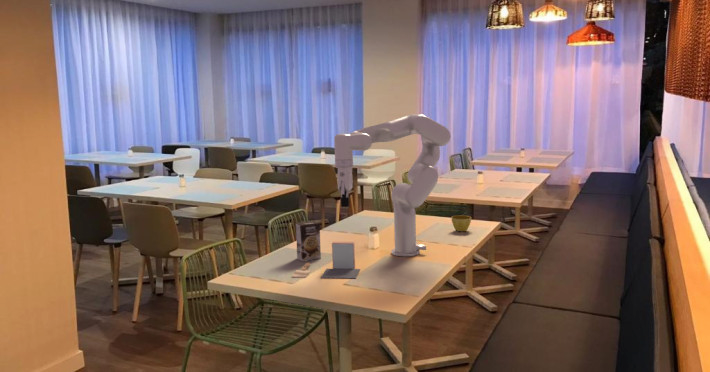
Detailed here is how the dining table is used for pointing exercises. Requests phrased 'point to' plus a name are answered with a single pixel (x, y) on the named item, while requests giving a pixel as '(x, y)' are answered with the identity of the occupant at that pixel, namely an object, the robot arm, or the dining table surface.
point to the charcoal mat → (341, 273)
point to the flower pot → (461, 222)
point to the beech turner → (302, 272)
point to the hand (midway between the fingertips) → (345, 206)
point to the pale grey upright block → (343, 255)
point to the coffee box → (308, 240)
